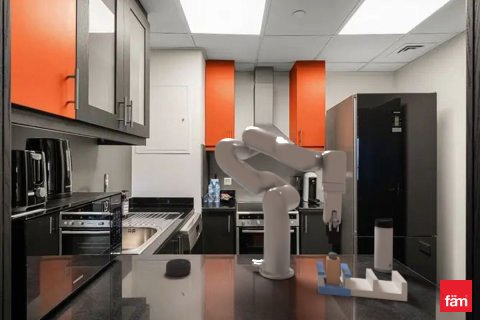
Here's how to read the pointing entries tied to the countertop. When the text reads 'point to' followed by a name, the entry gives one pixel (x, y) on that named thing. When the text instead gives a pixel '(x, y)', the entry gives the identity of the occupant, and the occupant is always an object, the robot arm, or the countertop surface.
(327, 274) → the cord plug
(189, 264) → the smart speaker
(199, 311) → the countertop surface
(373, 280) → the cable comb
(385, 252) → the travel mug
